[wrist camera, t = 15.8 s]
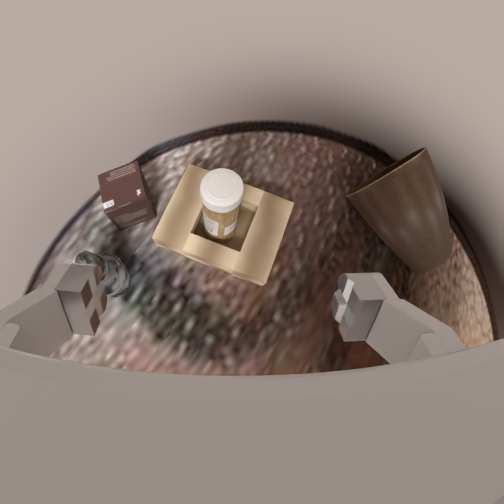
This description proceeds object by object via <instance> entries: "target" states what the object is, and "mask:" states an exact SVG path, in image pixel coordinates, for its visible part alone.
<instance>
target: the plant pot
mask: <svg viewBox="0 0 504 504" xmlns="http://www.w3.org/2000/svg"><path fill="white" fill-rule="evenodd" d="M346 197H347V199H348V200H349V201H350V202H351V204H352V205H353V206H354V207H355V209H356V210H357V211H358V212H359V214H360V215H361V216H362V217H363V219H364V220H365V221H366V222H367V223H368V225H369V226H370V227H371V228H372V229H373V230H374V231H375V233H376V234H377V235H378V236H379V237H380V238H381V239H382V240H383V241H384V242H385V244H386V245H387V246H388V247H389V248H390V249H391V250H392V251H393V252H394V253H395V254H396V255H397V256H398V257H399V258H400V259H401V260H402V261H403V262H404V263H405V264H406V265H407V266H408V267H410V268H411V269H412V270H413V271H414V272H416V273H424V272H428V271H430V270H433V269H435V268H437V267H438V266H440V265H441V264H443V263H444V262H445V261H446V260H447V259H448V258H449V257H450V255H451V252H452V246H451V234H450V225H449V219H448V213H447V208H446V204H445V200H444V196H443V192H442V189H441V185H440V182H439V179H438V176H437V173H436V170H435V168H434V165H433V163H432V160H431V158H430V155H429V153H428V151H427V149H426V147H425V148H421V149H419V150H417V151H415V152H413V153H411V154H410V155H408V156H406V157H404V158H403V159H400V160H399V161H397V162H395V163H394V164H392V165H390V166H389V167H387V168H385V169H384V170H382V171H380V172H379V173H377V174H376V175H374V176H372V177H371V178H369V179H368V180H366V181H365V182H363V183H362V184H360V185H359V186H357V187H356V188H354V189H353V190H352V191H350V192H349V193H348V194H347V195H346Z"/></svg>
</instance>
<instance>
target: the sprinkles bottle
mask: <svg viewBox="0 0 504 504" xmlns="http://www.w3.org/2000/svg"><path fill="white" fill-rule="evenodd" d="M243 193H244V184H243V181H242V179H241V177H240V176H239V175H238V174H237V173H236V172H234V171H232V170H230V169H226V168H218V169H214V170H211V171H210V172H208V173H207V174H206V175H205V176H204V177H203V179H202V181H201V184H200V197H201V200H202V202H203V204H202V209H203V218H204V231H205V234H206V236H207V237H208V238H209V239H210V240H211V241H213V242H215V243H225V242H227V241H229V240H230V239H231V238H232V237H233V236H234V234H235V231H236V223H237V216H238V211H239V204H240V203H241V201H242V198H243Z"/></svg>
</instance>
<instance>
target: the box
mask: <svg viewBox="0 0 504 504" xmlns="http://www.w3.org/2000/svg"><path fill="white" fill-rule="evenodd" d="M98 180H99V185H100V192H101V197H102V203H103V208H104V213H105V214H106V215H107V216H108V217H109V218H110V219H111V221H112V222H113V223H114V224H115V225H116V226H117V227H118V228H119V229H120V230H122V229H125V228H127V227H130V226H133V225H135V224H138V223H141V222H144V221H146V220H149V219H152V218H155V217H156V213H155V210H154V206H153V203H152V199H151V196H150V192H149V189H148V185H147V183H146V180H145V178H144V176H143V173H142V171H141V169H140V166H139V164H138V162H137V161H134V162H132V163H129V164H126V165H123V166H121V167H118V168H115V169H113V170H110V171H108V172H106V173H103V174H100V175H98Z"/></svg>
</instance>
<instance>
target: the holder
mask: <svg viewBox="0 0 504 504" xmlns="http://www.w3.org/2000/svg"><path fill="white" fill-rule="evenodd" d="M208 172H210V171H209V170H206V169H203V168H200V167H197V166H194V165H192V164H189V165H188V167H187V169H186V171H185V173H184V174H183V176H182V178H181V180H180V182H179V184H178V186H177V188H176V190H175V192H174V194H173V196H172V198H171V199H170V201H169V203H168V205H167V207H166V209H165V212H164V214H163V216H162V218H161V220H160V222H159V224H158V226H157V228H156V230H155V232H154V234H153V237H152V238H153V240H154V241H155V243H156V244H157V245H158V246H161V247H163V248H166V249H168V250H171V251H173V252H175V253H178V254H180V255H183V256H185V257H188V258H190V259H193V260H195V261H198V262H200V263H203V264H205V265H208V266H210V267H213V268H216V269H218V270H221V271H223V272H226V273H228V274H231V275H233V276H236V277H239V278H241V279H244V280H246V281H249V282H252V283H254V284H257V285H259V286H263V285H264V284H265V283H266V282H267V279H268V276H269V273H270V271H271V268H272V265H273V262H274V259H275V257H276V254H277V251H278V248H279V245H280V242H281V240H282V237H283V234H284V231H285V228H286V225H287V222H288V220H289V217H290V214H291V211H292V208H293V205H294V203H293V202H291V201H288V200H286V199H283V198H281V197H278V196H276V195H273V194H271V193H268V192H266V191H263V190H260V189H258V188H255V187H252V186H250V185H247V184H245V183H243V184H244V193H243V198H242V201H241V203H240V204H239V211H238V216H237V223H236V231H235V234H234V236H233V237H232V238H231V239H230V240H229V241H227V242H225V243H215V242H213V241H211V240H210V239H209V238H208V237H207V236H206V234H205V231H204V218H203V209H202V204H203V202H202V200H201V197H200V184H201V181H202V179H203V177H204V176H205V175H206V174H207V173H208Z"/></svg>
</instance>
